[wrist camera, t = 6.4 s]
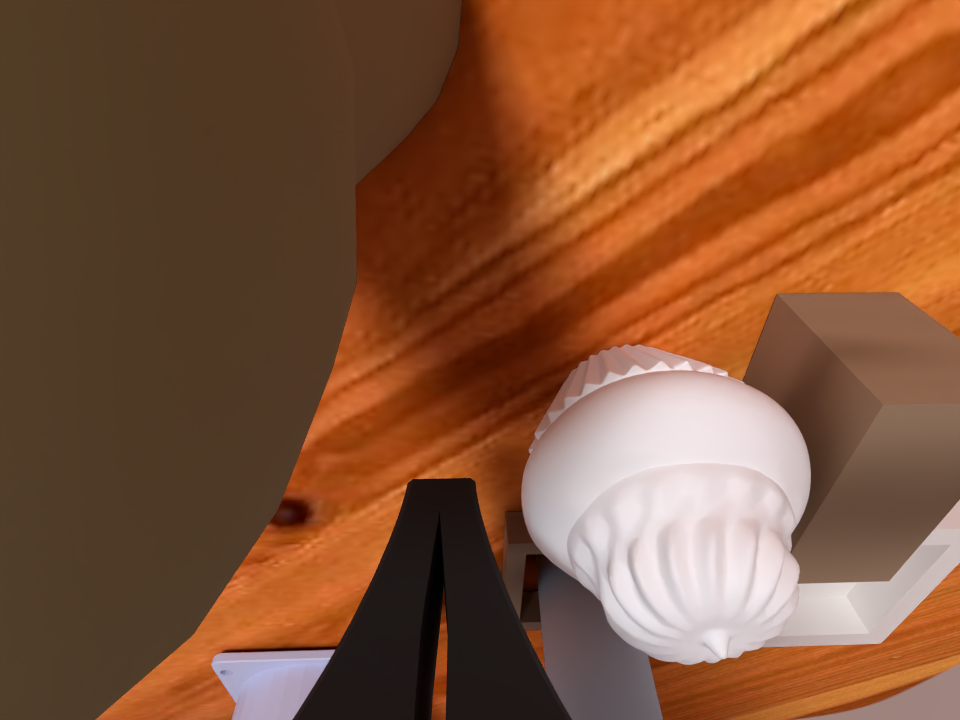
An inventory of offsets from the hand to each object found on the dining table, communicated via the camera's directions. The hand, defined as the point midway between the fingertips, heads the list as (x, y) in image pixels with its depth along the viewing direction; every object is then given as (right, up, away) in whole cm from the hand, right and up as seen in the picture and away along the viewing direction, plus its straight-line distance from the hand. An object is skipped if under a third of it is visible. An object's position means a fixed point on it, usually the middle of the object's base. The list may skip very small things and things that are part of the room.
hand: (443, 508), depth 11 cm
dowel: (+4, -4, +8) cm, 10 cm away
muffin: (+5, +2, +3) cm, 6 cm away
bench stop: (+9, +2, +3) cm, 10 cm away
